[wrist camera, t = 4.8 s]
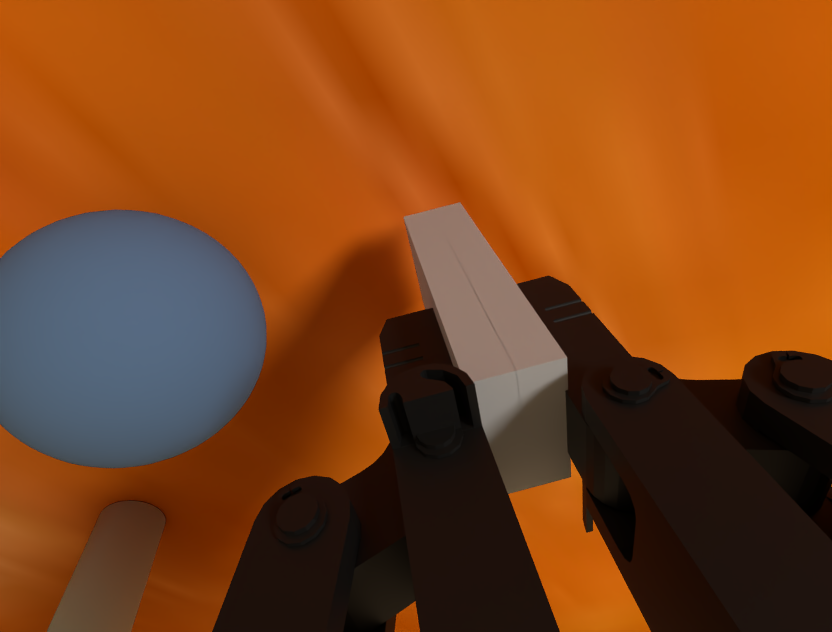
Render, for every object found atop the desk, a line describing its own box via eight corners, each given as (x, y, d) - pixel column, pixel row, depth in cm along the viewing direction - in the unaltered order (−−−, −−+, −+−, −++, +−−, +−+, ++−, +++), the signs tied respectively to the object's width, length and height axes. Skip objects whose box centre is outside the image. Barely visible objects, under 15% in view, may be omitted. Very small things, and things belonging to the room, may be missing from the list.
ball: (-214, 297, 8) (50, 203, 13) (-4, 538, 11) (145, 379, 16) (115, 241, 7) (255, 165, 12) (250, 517, 10) (317, 357, 15)
